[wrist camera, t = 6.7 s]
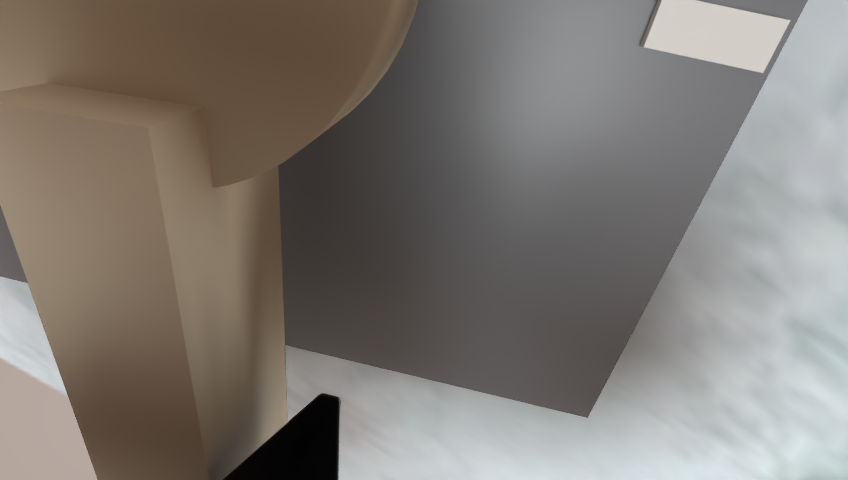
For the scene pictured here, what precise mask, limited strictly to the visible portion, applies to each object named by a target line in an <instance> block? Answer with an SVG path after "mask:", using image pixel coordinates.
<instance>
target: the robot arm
mask: <svg viewBox="0 0 848 480" xmlns="http://www.w3.org/2000/svg"><path fill="white" fill-rule="evenodd" d="M340 405H341V400H340V398H338V397H336V396H332V395H328V394H324V393H322V394H320V395H318V396H317V397H316V398H315V399H314V400H313V401H311V402H310V403H309V404H308V405H307V406H306V407H305V408H303V409H302V410H301V411H300V412H299V413H298V414H297V415H295V416H294V417H293V418H292V419H291V420H290V421H289V422H288V423H286V424H285V425H284V426H283V427H282V428H281V429H280V430H278V431H277V432H276V433H275V434H274V435H273V436H272V437H270V438H269V439H268V440H267V441H266V442H265V443H264V444H262V445H261V446H260V447H259V448H258V449H257V450H256V451H254V452H253V453H252V454H251V455H250V456H249V457H248V458H247V459H245V460H244V461H243V462H242V463H241V464H240V465H239V466H237V467H236V468H235V469H234V470H233V471H232V472H231V473H229V474H228V475H227V476H226V477H225V478H224V479H223V480H338V472H339V419H340Z"/></svg>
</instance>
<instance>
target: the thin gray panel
mask: <svg viewBox="0 0 848 480" xmlns="http://www.w3.org/2000/svg"><path fill="white" fill-rule="evenodd" d="M806 2H807V0H418V4H417V7H416V11H415V15H414V18H413V20H412V22H411V25H410V27H409V30H408V32H407V35H406V37H405V39H404V42H403V44H402V46H401V48H400V50H399V52H398V53H397V55H396V57H395V59H394V60H393V62H392V64H391V66H390V67H389V69H388V71H387V72H386V73H385V75H384V76H383V77H382V79H381V80H380V81H379V82H378V84H377V85H376V86H375V88H374V89H373V90H372V92H371V93H370V94H369V95H368V96H367V97H366V98H365V99H364V100H363V101H362V102H360V103H359V104H358V105H357V106H356V107H355V108H354V109H353V110H352V111H351V112H350V113H348V114H347V115H346V116H344V117H343V118H342V119H341V120H339V121H338V122H337V123H335V124H334V125H333V126H331V127H330V128H329V129H328V130H326V131H325V132H324V133H322V134H321V135H320V136H318V137H317V138H316V139H315V140H313V141H312V142H311V143H309V144H308V145H307V146H305V147H304V148H303V149H301V150H300V151H298V152H297V153H296V154H294V155H293V156H292V157H290V158H289V159H287V160H286V161H285V162H283V163H281V164H280V165H278V172H279V198H280V225H281V252H282V279H283V305H284V332H285V345H288V346H292V347H296V348H300V349H305V350H309V351H313V352H317V353H321V354H325V355H330V356H334V357H338V358H342V359H346V360H350V361H355V362H359V363H363V364H367V365H371V366H375V367H379V368H384V369H388V370H392V371H396V372H400V373H404V374H409V375H413V376H417V377H421V378H425V379H429V380H433V381H438V382H442V383H446V384H450V385H454V386H458V387H463V388H467V389H471V390H475V391H479V392H483V393H487V394H492V395H496V396H500V397H504V398H508V399H512V400H517V401H521V402H525V403H529V404H533V405H537V406H541V407H546V408H550V409H554V410H558V411H562V412H566V413H571V414H575V415H579V416H583V417H587V418H588V416H589V414H590V412H591V410H592V408H593V406H594V404H595V402H596V401H597V399H598V397H599V395H600V393H601V391H602V389H603V387H604V385H605V383H606V382H607V380H608V378H609V376H610V374H611V372H612V370H613V368H614V366H615V365H616V363H617V361H618V359H619V357H620V355H621V353H622V351H623V349H624V347H625V346H626V344H627V342H628V340H629V338H630V336H631V334H632V332H633V330H634V329H635V327H636V325H637V323H638V321H639V319H640V317H641V315H642V313H643V311H644V310H645V308H646V306H647V304H648V302H649V300H650V298H651V296H652V294H653V292H654V291H655V289H656V287H657V285H658V283H659V281H660V279H661V277H662V275H663V274H664V272H665V270H666V268H667V266H668V264H669V262H670V260H671V258H672V256H673V255H674V253H675V251H676V249H677V247H678V245H679V243H680V241H681V239H682V237H683V236H684V234H685V232H686V230H687V228H688V226H689V224H690V222H691V220H692V219H693V217H694V215H695V213H696V211H697V209H698V207H699V205H700V203H701V201H702V200H703V198H704V196H705V194H706V192H707V190H708V188H709V186H710V184H711V183H712V181H713V179H714V177H715V175H716V173H717V171H718V169H719V167H720V165H721V164H722V162H723V160H724V158H725V156H726V154H727V152H728V150H729V148H730V146H731V145H732V143H733V141H734V139H735V137H736V135H737V133H738V131H739V129H740V128H741V126H742V124H743V122H744V120H745V118H746V116H747V114H748V112H749V110H750V109H751V107H752V105H753V103H754V101H755V99H756V97H757V95H758V93H759V91H760V90H761V88H762V86H763V84H764V82H765V80H766V78H767V76H768V74H769V73H770V71H771V69H772V67H773V65H774V63H775V61H776V59H777V57H778V55H779V54H780V52H781V50H782V48H783V46H784V44H785V42H786V40H787V38H788V37H789V35H790V33H791V31H792V29H793V27H794V25H795V23H796V21H797V19H798V18H799V16H800V14H801V12H802V10H803V8H804V6H805V4H806ZM0 276H1V277H5V278H10V279H14V280H18V281H22V282H26V283H28V282H27V279H26V276H25V273H24V270H23V267H22V265H21V262H20V259H19V256H18V253H17V251H16V248H15V245H14V242H13V239H12V236H11V234H10V231H9V228H8V225H7V222H6V220H5V217H4V214H3V211H2V208H1V206H0Z"/></svg>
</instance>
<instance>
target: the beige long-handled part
mask: <svg viewBox="0 0 848 480" xmlns="http://www.w3.org/2000/svg"><path fill="white" fill-rule="evenodd" d="M417 4H418V0H0V206H1V208H2V211H3V214H4V217H5V220H6V222H7V225H8V228H9V231H10V234H11V236H12V239H13V242H14V245H15V248H16V251H17V253H18V256H19V259H20V262H21V265H22V267H23V270H24V273H25V276H26V279H27V282H28V284H29V287H30V290H31V293H32V296H33V298H34V301H35V304H36V307H37V310H38V312H39V315H40V318H41V321H42V324H43V327H44V329H45V332H46V335H47V338H48V341H49V343H50V346H51V349H52V352H53V355H54V358H55V360H56V363H57V366H58V369H59V372H60V374H61V377H62V380H63V383H64V386H65V388H66V391H67V394H68V397H69V400H70V402H71V405H72V408H73V411H74V414H75V417H76V419H77V422H78V425H79V428H80V431H81V433H82V436H83V439H84V442H85V445H86V447H87V450H88V453H89V456H90V459H91V462H92V464H93V467H94V470H95V473H96V475H97V479H98V480H223V479H224V478H225V477H226V476H227V475H228V474H229V473H231V472H232V471H233V470H234V469H235V468H236V467H237V466H239V465H240V464H241V463H242V462H243V461H244V460H245V459H247V458H248V457H249V456H250V455H251V454H252V453H253V452H254V451H256V450H257V449H258V448H259V447H260V446H261V445H262V444H264V443H265V442H266V441H267V440H268V439H269V438H270V437H272V436H273V435H274V434H275V433H276V432H277V431H278V430H280V429H281V428H282V427H283V426H284V425H285V424H286V423H288V412H287V386H286V359H285V332H284V305H283V279H282V252H281V225H280V198H279V172H278V165H280V164H281V163H283V162H285V161H286V160H287V159H289V158H290V157H292V156H293V155H294V154H296V153H297V152H298V151H300V150H301V149H303V148H304V147H305V146H307V145H308V144H309V143H311V142H312V141H313V140H315V139H316V138H317V137H318V136H320V135H321V134H322V133H324V132H325V131H326V130H328V129H329V128H330V127H331V126H333V125H334V124H335V123H337V122H338V121H339V120H341V119H342V118H343V117H344V116H346V115H347V114H348V113H350V112H351V111H352V110H353V109H354V108H355V107H356V106H357V105H358V104H359V103H360V102H362V101H363V100H364V99H365V98H366V97H367V96H368V95H369V94H370V93H371V92H372V90H373V89H374V88H375V86H376V85H377V84H378V82H379V81H380V80H381V79H382V77H383V76H384V75H385V73H386V72H387V71H388V69H389V67H390V66H391V64H392V62H393V60H394V59H395V57H396V55H397V53H398V52H399V50H400V48H401V46H402V44H403V42H404V39H405V37H406V35H407V32H408V30H409V27H410V25H411V22H412V20H413V18H414V15H415V11H416V7H417Z"/></svg>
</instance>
